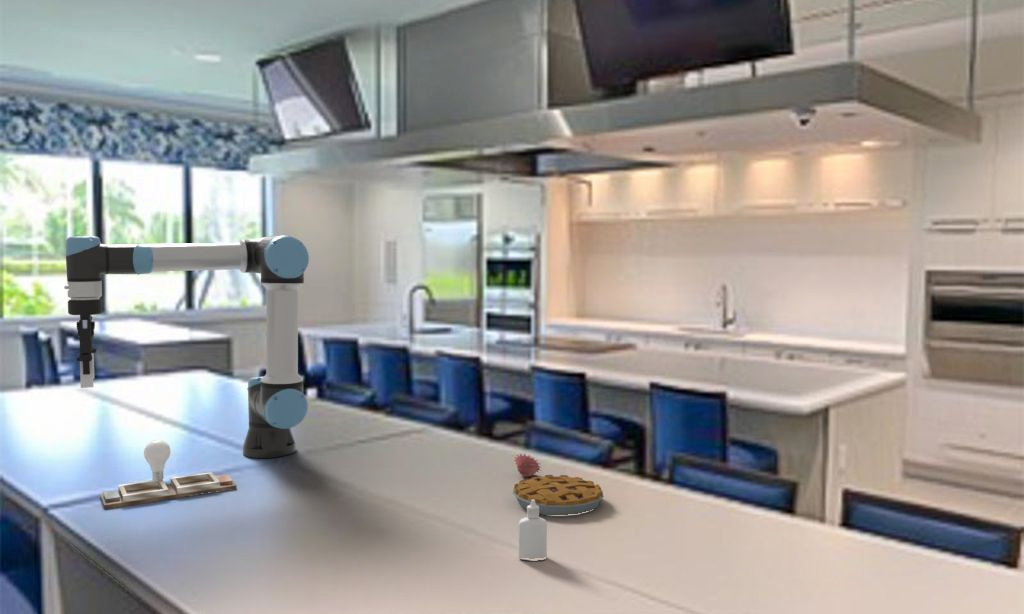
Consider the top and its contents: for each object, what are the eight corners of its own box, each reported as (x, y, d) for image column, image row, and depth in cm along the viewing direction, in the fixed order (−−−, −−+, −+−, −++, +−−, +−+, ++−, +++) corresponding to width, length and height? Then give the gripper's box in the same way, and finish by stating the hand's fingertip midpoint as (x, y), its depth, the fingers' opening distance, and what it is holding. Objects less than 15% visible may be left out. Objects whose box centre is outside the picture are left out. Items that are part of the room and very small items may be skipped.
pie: (540, 525, 177) (540, 503, 176) (497, 497, 196) (497, 478, 196) (620, 511, 187) (621, 490, 187) (572, 486, 206) (572, 467, 206)
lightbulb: (161, 486, 203) (160, 444, 202) (139, 484, 204) (138, 442, 203) (176, 478, 209) (175, 438, 208) (155, 477, 210) (154, 436, 209)
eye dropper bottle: (525, 552, 161) (525, 494, 160) (549, 557, 158) (550, 499, 157) (515, 559, 157) (515, 500, 156) (540, 565, 154) (540, 505, 154)
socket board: (227, 479, 209) (227, 469, 209) (236, 489, 201) (236, 479, 200) (100, 497, 193) (100, 487, 193) (104, 509, 185) (104, 498, 184)
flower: (523, 460, 208) (531, 445, 212) (503, 467, 213) (511, 451, 217) (542, 480, 210) (549, 464, 214) (522, 486, 215) (529, 470, 219)
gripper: (70, 295, 205) (72, 376, 207) (64, 302, 183) (68, 392, 185) (102, 295, 209) (105, 374, 210) (101, 301, 186) (104, 390, 188)
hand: (87, 383), depth 197 cm, fingers open, 13 cm apart
